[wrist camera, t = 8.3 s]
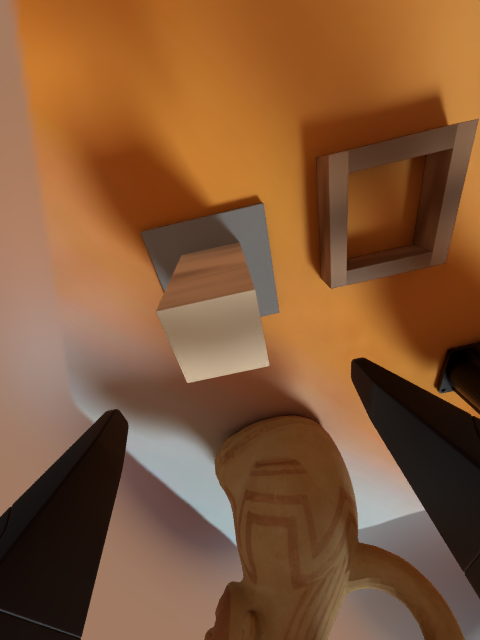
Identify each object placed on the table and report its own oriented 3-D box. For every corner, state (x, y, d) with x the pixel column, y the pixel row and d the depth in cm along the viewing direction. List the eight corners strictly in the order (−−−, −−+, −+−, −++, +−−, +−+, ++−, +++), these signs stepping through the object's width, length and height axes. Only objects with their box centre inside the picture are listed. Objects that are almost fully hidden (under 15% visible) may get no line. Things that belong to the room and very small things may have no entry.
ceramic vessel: (184, 425, 30) (96, 1096, 8) (346, 381, 28) (782, 1074, 6) (228, 491, 38) (243, 901, 17) (355, 460, 36) (552, 870, 15)
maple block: (250, 295, 21) (269, 365, 13) (198, 306, 21) (187, 383, 13) (239, 242, 19) (255, 289, 11) (181, 255, 19) (156, 311, 11)
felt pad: (277, 309, 22) (279, 312, 22) (182, 330, 23) (181, 334, 22) (262, 202, 18) (263, 203, 17) (142, 231, 18) (140, 232, 18)
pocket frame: (424, 255, 21) (445, 263, 19) (321, 278, 21) (331, 288, 19) (448, 125, 16) (478, 118, 14) (316, 157, 17) (328, 155, 15)
